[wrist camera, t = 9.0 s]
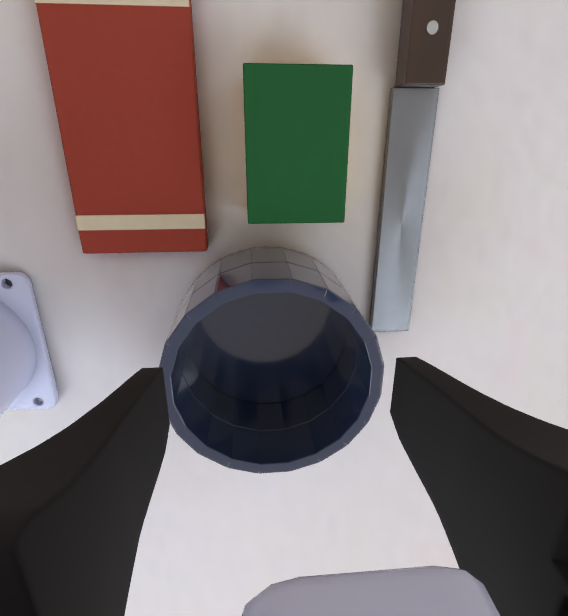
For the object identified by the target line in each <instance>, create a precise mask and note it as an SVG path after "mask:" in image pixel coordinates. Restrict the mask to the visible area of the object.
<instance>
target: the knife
mask: <svg viewBox="0 0 568 616" xmlns="http://www.w3.org/2000/svg"><path fill="white" fill-rule="evenodd" d="M455 2H456V0H403V8H402V19H401V30H400V40H399V51H398V62H397V73H396V84H395V87H393V88H391V91H390V103H389V114H388V125H387V137H386V148H385V159H384V171H383V182H382V193H381V205H380V216H379V227H378V239H377V250H376V261H375V273H374V284H373V295H372V307H371V318H370V326H371V328H372V329H373V331H374V332H380V331H408V329H409V321H410V314H411V306H412V298H413V290H414V282H415V274H416V267H417V259H418V251H419V243H420V235H421V227H422V220H423V212H424V204H425V196H426V188H427V180H428V173H429V165H430V157H431V149H432V141H433V133H434V126H435V118H436V110H437V102H438V94H439V88H434V87H438V86H442V85H444V84H445V78H446V70H447V63H448V55H449V47H450V40H451V32H452V25H453V17H454V10H455Z"/></svg>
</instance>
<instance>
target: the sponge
mask: <svg viewBox="0 0 568 616" xmlns="http://www.w3.org/2000/svg"><path fill="white" fill-rule="evenodd" d="M352 76H353V65H330V64H270V63H243V82H244V114H245V146H246V177H247V209H248V223H249V224H265V223H335V222H344V217H345V199H346V182H347V164H348V146H349V129H350V111H351V94H352Z"/></svg>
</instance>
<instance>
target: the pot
mask: <svg viewBox="0 0 568 616" xmlns="http://www.w3.org/2000/svg"><path fill="white" fill-rule="evenodd" d="M160 367H163V374H164V382H165V389H166V397H167V405H168V413H169V421H170V423H171V425H172V427H173V428H174V430H175V432H176V434H177V435H178V436H180V437H181V438H182V439H183V440H184V441H185V442H186V443H187V444H188V445H189V446H190V447H191V448H193V449H194V450H195V451H196V452H197V453H198V454H200V455H202V456H204V457H206V458H208V459H210V460H213V461H215V462H217V463H219V464H221V465H223V466H225V467H227V468H232V469H237V470H242V471H248V472H253V473H272V472H289V471H293V470H296V469H299V468H302V467H306V466H309V465H312V464H315V463H318V462H320V461H323V460H324V459H326V458H328V457H329V456H331V455H332V454H334V453H336V452H337V451H339V450H340V449H342V448H344V447H345V446H346V445H348V444H349V443H350V442H351V441H352V440H353V438H354V437H355V436H356V435H357V434H358V433H359V432H360V431H361V430H362V429H363V428H364V427H365V425H366V424H367V422H369V420H370V418H371V415H372V413H373V411H374V409H375V407H376V405H377V403H378V401H379V399H380V395H381V391H382V382H383V372H384V362H383V358H382V355H381V351H380V347H379V343H378V339H377V336H376V334H375V332H374V331H373V329H372V328H371V326H370V325H369V323H368V322H367V320H366V319H365V317H364V316H363V314H362V313H361V311H360V310H359V308H358V307H357V305H356V304H355V302H354V301H353V299H352V298H351V296H350V295H349V293H348V292H347V291H346V289H345V288H344V286H343V285H342V284H341V282H340V281H339V279H338V278H337V277H336V275H334V273H332V272H331V271H330V270H329V269H328V268H327V267H326V266H324V265H323V264H322V263H320V262H319V261H317V260H315V259H314V258H312V257H310V256H308V255H306V254H303V253H301V252H297V251H294V250H291V249H286V248H280V247H257V248H250V249H246V250H241V251H238V252H236V253H233V254H230V255H228V256H226V257H224V258H222V259H220V260H218V261H217V262H215V263H214V264H213V265H211V266H210V267H208V268H207V269H206V270H205V271H204V272H203V273H202V274H201V275H200V276H199V277H198V278H197V279H196V280H195V282H194V283H193V284H192V286H191V287H190V289H189V290H188V292H187V294H186V296H185V297H184V299H183V300H182V302H181V305H180V307H179V310H178V312H177V315H176V317H175V320H174V322H173V325H172V327H171V330H170V332H169V335H168V337H167V340H166V342H165V345H164V349H163V353H162V357H161V361H160V365H159V368H160Z"/></svg>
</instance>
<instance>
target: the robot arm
mask: <svg viewBox="0 0 568 616" xmlns="http://www.w3.org/2000/svg"><path fill="white" fill-rule="evenodd" d="M5 279H9V280H10V281H11V282H12V286H9V285H7V284H6V282H5ZM37 398H40V399H42V400H43V402H42V401H39V400H37ZM58 401H59V394H58V390H57V386H56V382H55V378H54V374H53V370H52V366H51V362H50V358H49V353H48V349H47V345H46V341H45V337H44V333H43V329H42V325H41V321H40V316H39V312H38V308H37V304H36V300H35V296H34V292H33V288H32V284H31V280H30V278H29V277H28V276H27V275H26V274H24V273H22V272H0V416H1V415H2V414H3V412H4V411H5V410H21V409H42V408H53V407H54V406H56V404H57V403H58ZM390 413H391V416H392V419H393V422H394V425H395V428H396V431H397V433H398V436H399V439H400V441H401V443H402V445H403V447H404V449H405V451H406V453H407V455H408V457H409V459H410V461H411V462H412V464H413V466H414V468H415V470H416V472H417V474H418V476H419V478H420V479H421V481H422V483H423V485H424V487H425V489H426V491H427V493H428V495H429V496H430V498H431V500H432V502H433V504H434V506H435V509H436V511H437V513H438V515H439V517H440V520H441V522H442V525H443V527H444V530H445V532H446V535H447V537H448V540H449V542H450V545H451V547H452V550H453V552H454V555H455V558H456V560H457V563H458V566H459V568H460V569H456V568H448V567H439V566H426V567H414V568H402V569H390V570H378V571H366V572H353V573H341V574H329V575H317V576H305V577H297V578H294V579H290V580H286V581H282V582H279V583H275V584H271V585H270V586H269V587H267V588H266V589H265V590H263V591H262V592H261V593H259V594H258V595H257V596H255V597H254V598H253V599H252V600H250V601H249V602H248V603H247V604H246V605H245V608H244V611H243V614H242V616H568V429H565V428H562V427H559V426H556V425H553V424H550V423H548V422H545V421H542V420H540V419H537V418H534V417H532V416H530V415H527V414H525V413H523V412H520V411H518V410H515V409H513V408H511V407H509V406H506V405H504V404H502V403H500V402H498V401H496V400H494V399H492V398H490V397H488V396H486V395H484V394H482V393H480V392H478V391H477V390H475V389H473V388H471V387H469V386H467V385H466V384H464V383H462V382H460V381H458V380H457V379H455V378H453V377H451V376H450V375H448V374H446V373H445V372H443V371H441V370H439V369H438V368H436V367H434V366H432V365H431V364H429V363H427V362H425V361H423V360H421V359H419V358H417V357H404V358H397V359H396V367H395V375H394V384H393V392H392V401H391V409H390ZM169 426H170V421H169V413H168V405H167V397H166V389H165V382H164V374H163V367H160V368H142V369H140V370H139V371H138V372H136V373H135V374H134V375H133V376H132V377H131V378H129V379H128V380H127V381H126V382H125V383H124V384H122V385H121V386H120V387H119V388H118V389H116V390H115V391H114V392H113V393H112V394H110V395H109V396H108V397H107V398H106V399H104V400H103V401H102V402H101V403H99V404H98V405H97V406H95V407H94V408H93V409H91V410H90V411H89V412H87V413H86V414H85V415H83V416H82V417H81V418H79V419H78V420H77V421H75V422H74V423H73V424H71V425H70V426H68V427H67V428H65V429H64V430H62V431H61V432H59V433H58V434H56V435H54V436H53V437H51V438H49V439H48V440H46V441H45V442H43V443H41V444H40V445H38V446H36V447H34V448H32V449H30V450H29V451H27V452H25V453H23V454H21V455H19V456H17V457H15V458H13V459H12V460H10V461H8V462H6V463H4V464H2V465H0V616H124V614H125V609H126V603H127V598H128V593H129V587H130V582H131V577H132V571H133V567H134V562H135V557H136V552H137V547H138V542H139V537H140V533H141V530H142V526H143V522H144V519H145V516H146V512H147V509H148V506H149V503H150V500H151V497H152V493H153V490H154V487H155V484H156V481H157V477H158V474H159V471H160V468H161V464H162V461H163V458H164V454H165V450H166V444H167V438H168V432H169Z"/></svg>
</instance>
